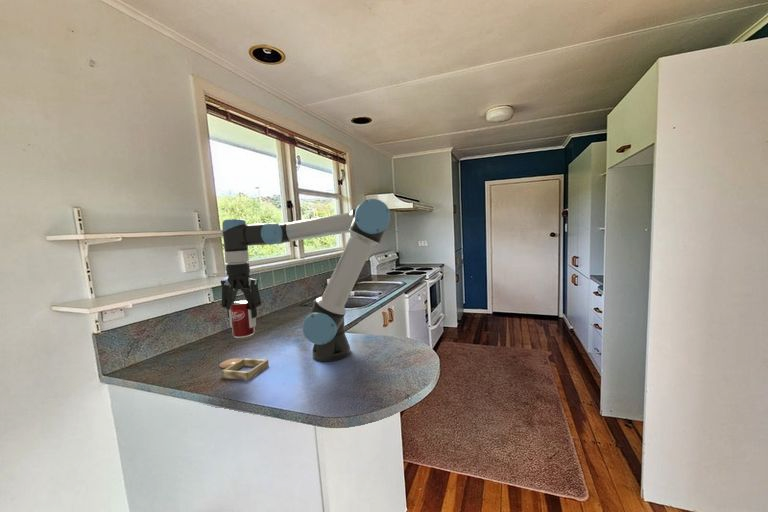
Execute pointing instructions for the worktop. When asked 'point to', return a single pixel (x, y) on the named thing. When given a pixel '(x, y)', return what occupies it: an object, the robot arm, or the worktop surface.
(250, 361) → the frame
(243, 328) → the soda can
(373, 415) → the worktop surface
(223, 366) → the coaster
